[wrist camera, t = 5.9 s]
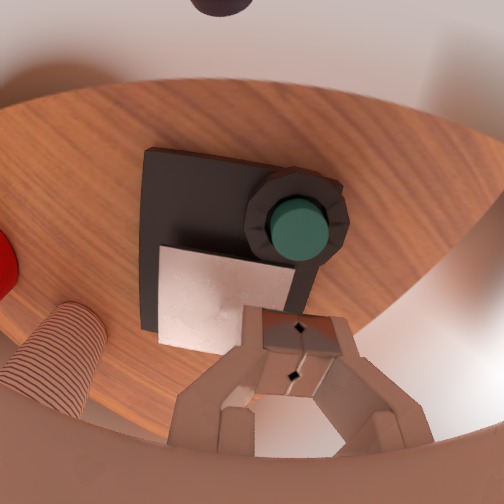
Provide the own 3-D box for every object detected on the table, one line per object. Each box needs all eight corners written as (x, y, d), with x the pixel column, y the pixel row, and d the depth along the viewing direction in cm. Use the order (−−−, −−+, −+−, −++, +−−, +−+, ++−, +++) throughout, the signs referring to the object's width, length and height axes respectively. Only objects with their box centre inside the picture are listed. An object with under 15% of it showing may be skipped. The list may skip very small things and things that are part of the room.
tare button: (276, 192, 16) (278, 202, 14) (328, 204, 16) (336, 214, 15) (265, 242, 17) (266, 256, 16) (314, 251, 18) (320, 265, 16)
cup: (97, 285, 22) (2, 441, 8) (134, 357, 26) (85, 500, 12) (33, 292, 23) (-53, 408, 9) (71, 355, 27) (15, 470, 13)
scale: (152, 140, 17) (135, 146, 14) (346, 175, 18) (361, 187, 15) (145, 318, 24) (135, 342, 21) (291, 343, 24) (294, 369, 22)
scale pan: (161, 242, 17) (159, 245, 17) (295, 266, 18) (295, 269, 17) (159, 339, 21) (158, 343, 20) (266, 357, 21) (266, 361, 21)
